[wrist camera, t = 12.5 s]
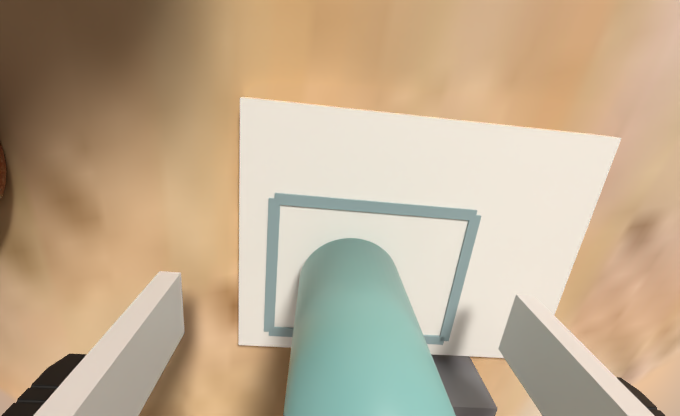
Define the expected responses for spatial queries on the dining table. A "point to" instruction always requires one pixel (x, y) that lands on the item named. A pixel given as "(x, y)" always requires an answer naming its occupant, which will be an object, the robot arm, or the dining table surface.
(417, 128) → the sheet
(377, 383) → the white-capped teal capsule
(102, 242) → the dining table surface
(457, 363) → the button housing
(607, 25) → the dining table surface
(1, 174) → the bread roll
